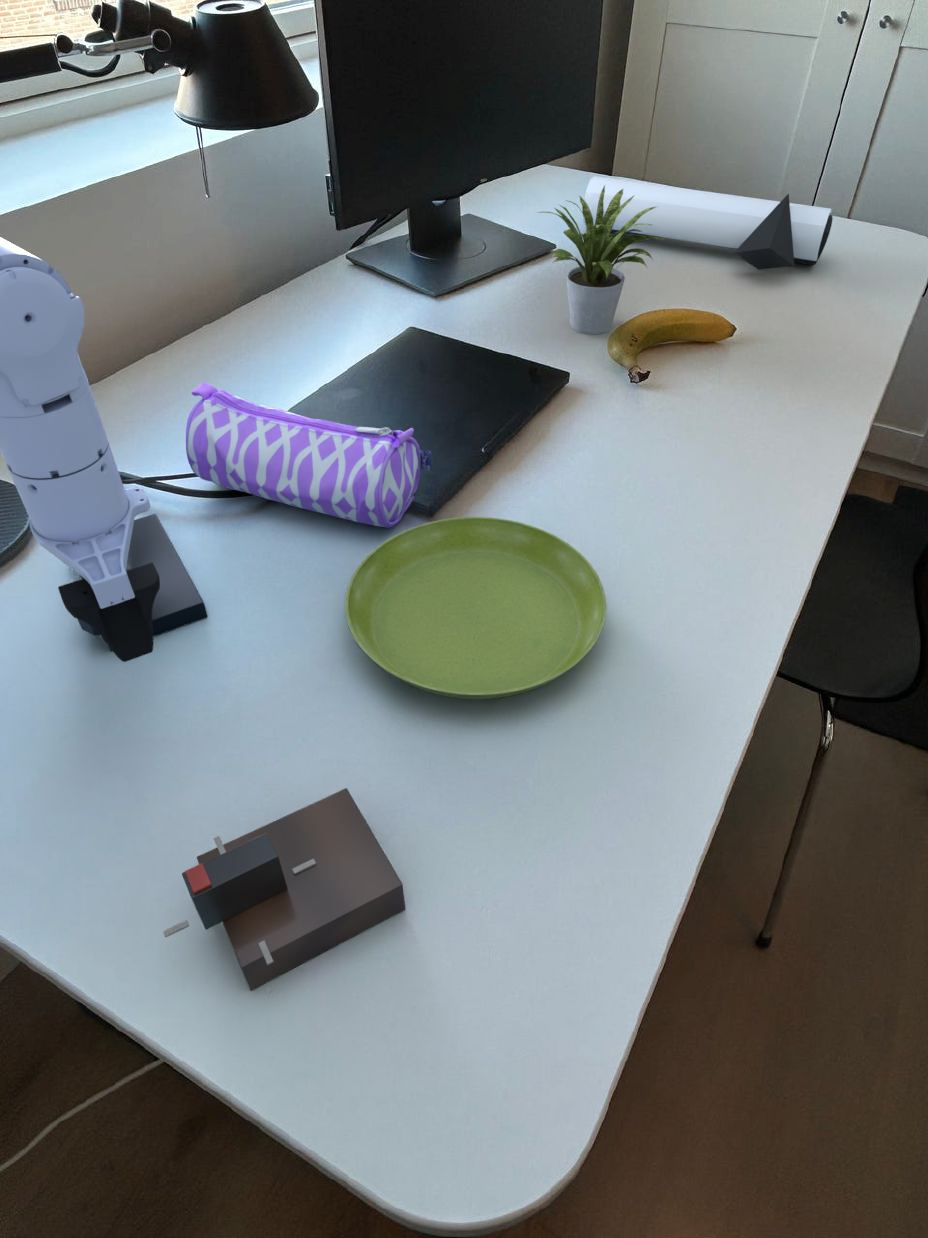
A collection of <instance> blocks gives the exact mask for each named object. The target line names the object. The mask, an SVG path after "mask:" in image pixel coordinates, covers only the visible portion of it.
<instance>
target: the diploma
mask: <svg viewBox="0 0 928 1238" xmlns="http://www.w3.org/2000/svg"><path fill="white" fill-rule="evenodd" d="M604 186H605V193H604V199H603V209H604V213H603V216H604V214H605V212H606V210H607V208H608V206H609V204H610V202H611V200H612V199H613V197H614V196H615V195H616V194H617V193H618V192H619V191H620V190H622V189H623V195H622V197H621V199H620V206H621V205H622V204H623V203H624V202H626V201H627V200H628V199H630V198H631V197H632V196H634V195H635V196H634V197H633V198H632V199H631V201H630V202H629V203H628V204H627V205H626V206H625V207H624V208H623V209H622V211H621V212H620V213H619V215H618V216H617V218H616V220H615V222H614V225H613V227H612V230H611V233H615V232H619V231H620V230H621V228H622V227H623V226H624V225H625V224H626V223H627V222H629V221H630V220H631V219H632V218H633V217H634V216H635V215H637V214H638V213H640V212H641V211H643V210H645V209H648V208H651V207H656V208H654V209H652V210H650V211H648V212H646V213H645V214H643V215H642V216H641V217H640V218H639V219H638V220H637V221H636V222H635V223H634V224H641V223H643V224H651V225H637V226H632V227H630V228H629V229H628V230H627V231H629V230H632V229H637V230H640V231H642V232H637V231H631V232H628V233H626V232H627V231H626V232H625V233H626V234H629V235H645V236H652V237H656V238H660V239H670V240H677V241H684V242H690V243H696V244H701V245H710V246H715V247H721V248H727V249H732V250H735V251H734V252H733V254H735V255H736V256H738V257H739V258H740V259H742V260H743V261H745V262H746V263H748V264H749V265H751V266H752V267H753V268H754V269H757V270H758V271H759V270H769V269H777V268H779V269H781V268H788V267H795V263H798V264H803V265H807V266H812V267H814V266H815V265H816V264H817V262H818V261H819V259H820V257H821V256H822V254H823V251H824V249H825V247H826V244H827V242H828V239H829V236H830V232H831V228H832V224H833V219H834V218H833V214H832V210H833V208H829V207H821V206H816V205H807V204H801V203H800V204H799V203H792V202H790V194H789V192H788V193H787V194H786V195H785V196H784V197H783V199H782V200H781V201H779V200H771V199H763V198H758V197H757V198H756V197H749V196H741V195H735V194H727V193H721V192H713V191H705V190H698V189H691V188H684V187H676V186H669V185H662V184H654V183H649V182H647V183H646V182H641V181H633V180H627V179H626V180H625V179H617V178H612V177H611V178H610V177H605V176H604V177H603V176H596V175H593V176H592V177H591V178H590V180H589V182H588V183H587V187H586V191H585V194H584V198H583V200H584V201H585V202H586V203H587V205H588V207H589V209H590V212H591V214H592V217H593V224H594V225H595V221H596V215H597V208H598V202H599V198H600V194H601V192H602V189H603V187H604ZM582 220H583V224H584V225H585V226H586V223H585V219H584V216H583V215H582ZM634 224H633V225H634ZM625 233H624V234H625ZM626 234H625V235H626Z"/></svg>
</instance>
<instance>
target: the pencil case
mask: <svg viewBox="0 0 928 1238" xmlns="http://www.w3.org/2000/svg"><path fill="white" fill-rule="evenodd" d="M191 395H192V396H194V397H198V396H199V397H201V399H200V400H199V401H198V402H197V403H195V405H194V406H193V407H192V408H191V410H190V412H189V415H188V417H187V421H186V425H185V427H186V428H185V451H186V452H185V453H186V458H187V461H188V464H189V467H190V469H191V470H192V472H193V473H194V475H195V476H196V477H198V478H200V480H201V479H202V480H203V481H205V482H211V483H213V484H215V485H218V486H220V487H222V488H226V489H230V490H234V491H235V490H236V491H239V492H243V493H246V494H249V495H252V496H253V495H254V496H257V497H260V498H264V499H267V500H270V501H273V502H277V503H282V504H284V505H289V506H292V507H296V508H300V509H304V510H307V511H310V512H311V511H312V512H316V513H321V514H324V515H328V516H333V517H336V518H340V519H344V520H348V521H352V522H354V523H359V524H367V525H371V526H374V527H382V528H391V527H394V526H395V525H397V524H399V522H400V521H401V519H402V517H403V516H404V513H405V512H407V510H408V509H409V507H410V506H411V504H412V502H413V500H414V498H415V496H413V497H410V496H411V494H412V493H415V492H416V493H417V490H418V487H419V482H420V478H421V477H420V476H421V470H423V471H427V472H431V471H432V469H433V466H432V464H433V463H432V451H431V450H428V449H427V450H426V449H421V448H420V445H419V443H418V441H417V440H416V438H414V437H413V435H414V432H415V429H414V428H413V427H410V428H409V429H407V430H405V431H403V430H400V429H397V430H391V429H390V427H386V426H385V427H381V428H378V427H377V428H376V427H371V426H369V427H368V426H355V425H351V424H344V423H340V422H335V421H332V420H331V421H330V420H326V419H320V418H310V417H308V416H303V415H301V414H296V413H294V412H290V411H287V410H283V409H280V408H276V407H272V406H266V405H262V404H259V403H255V402H253V401H249V400H247V399H245V398H242V397H240V396H237V395H235V394H232V393H230V392H228V391H226V390H224V389H220V390H218V389H217V388H216V387H215V386H213V385H211V384H210V383H209V382H207V381H204V382H202V383H200V384H198V386H197V387H195V388H194V389H193V390H192V391H191ZM416 493H415V494H416ZM408 499H409V500H408Z"/></svg>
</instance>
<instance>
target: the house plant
mask: <svg viewBox="0 0 928 1238" xmlns="http://www.w3.org/2000/svg"><path fill="white" fill-rule="evenodd" d="M604 193H605V186H604V187H603V189H602V192H601V194H600V198H599V202H598V208H597V215H596V221H595V225H594V224H593V217H592V214H591V212H590V209H589V207H588V205H587V203H586V202H585V201H584V198H583V197H582V196H580V195H579V202H580V205H581V206H582V207H580V206H579V205H578V204H577V203H575V202H573V201H570V200H566V199H565V201H566V202H568V203H571V204H573V205H575V206H576V207H577V208H578V209H579V210H580V211H581V213H582V217H583V216H584V219H585V223H586V225H585V230H586V232H584V233H581V230H580V227H579V225H578V223H577V221H576V220H575V218H574V217H573V216H572V214H571V213H570V211H569V210H568V208H566V206H563V205H561V204H559V206H560V207H561V208H562V209H563V210H565V212H566V213H567V215H568V216H569V217H568V216H567V215H566V214H565V213H564V212H563V211H562V210H560V209H557V208H556V207H554V210H555V211H556V213H555V212H551V211H537V213H545V214H553V215H555V216H558V217H559V218H560V219H561V220H562V221H563V222H564V223H565V224H566V225H567V227H568V229H565V230H564V231H563V232H562V233H563V234H564V235H565V237H567V238H568V239H569V240H570V241H571V242H572V243H573V244H574V245H575V247H576V248H577V250H578V252H579V254H580V256H581V259H582V261H583V263H584V265H583V264H582V263H581V261H580V260H579V259H578V258H577V257H575V256H574V255H573V254H572V253H571V252H569V251H568V250H566V249H563V248H557V249H555V250H554V251H553V253H552V255H551V256H550V257H549V259H552V258H555V259H554V260H553V261H552V263H555V262H556V263H557V262H561V261H575V262H577V265H578V266H576V267H574V268H571V269H569V270H568V271H567V274H566V286H567V299H568V310H569V322H570V327H571V328H572V330H574V331H576V332H578V333H581V334H584V335H601V334H604V333H607V332H609V331H610V330H611V329H612V327H613V322H614V319H615V315H616V311H617V308H618V305H619V302H620V297H621V294H622V290H623V287H624V283H625V279H626V277H625V275H624V273H623V272H622V271H621V270H619V269H617V267H616V268H615V267H614V266H615V265H616V264H618V263H620V264H619V265H618V267H620V266H621V265H622V264H623V263H638V264H639V263H640V264H641V265H644V266H645V267H646V268H648V266H647V265H646V263H645V261H644V259H643V258H642V257H640V256H638V255H645V256H647V257H649V258H650V259H651V260H652V261H654V259H653V257H652V255H651V254H650V252H648V251H647V250H646V249H644V248H639V247H638V248H637V247H636V248H630V249H626V248H627V247H628V246H630V245H632V244H634V243H637V242H641V241H650V240H657V241H666V238H660V237H652V236H645V235H636V234H632V235H628V236H625V235H626V233H628V232H631V231H637V232H642V231H640V230H637V229H632V230H629V231H627V230H628V229H629V228H630V227H632V226H637V225H651V224H643V223H641V224H634V223H635V222H636V221H637V220H638V219H639V218H640V217H641V216H642V215H643V214H645V213H646V212H648V211H650V210H652V209H654V208H656V207H651V208H648V209H645V210H643V211H641V212H640V213H638V214H637V215H635V216H634V217H633V218H632V219H631V220H630V221H629V222H627V223H626V224H625V225H624V226H623V227H622V228H621V230H620V231H619V232H615V233H614V232H611V230H612V227H613V225H614V222H615V220H616V218H617V216H618V215H619V213H620V212H621V211H622V209H623V208H624V207H625V206H626V205H627V204H628V203H629V202H630V201H631V199H632V198H633V197H634V196H635V195H634V196H632V197H631V198H630V199H628V200H627V201H626V202H624V203H623V204H622V205H621V206H620V199H621V197H622V195H623V189H622V190H620V191H619V192H618V193H617V194H616V195H615V196H614V197H613V199H612V200H611V202H610V204H609V206H608V208H607V210H606V212H605V214H604V216H603V213H604V209H603V199H604ZM581 208H582V209H581ZM569 218H570V219H571V220H570V219H569ZM633 224H634V225H633ZM626 231H627V232H626ZM625 232H626V233H625ZM623 236H625V237H623ZM625 249H626V250H625ZM631 253H635V254H633V255H629V256H625V255H626V254H631ZM623 256H624V257H623Z"/></svg>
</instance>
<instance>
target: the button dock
mask: <svg viewBox="0 0 928 1238" xmlns="http://www.w3.org/2000/svg"><path fill="white" fill-rule="evenodd" d="M152 562H153V564H154V566H155V568H156V570H157V572H158V574H159V578H160V589H159V591H158V593H157V595H156V597H155V600H154V604H153V609H152V627H153V638H154V637H156V636H158V635H159V636H160V635H162V634H165V633H167V632H171V631H172V630H173V631H174V630H175V629H178V628H181V627H184V626H186V625H190V624H192V623H196V622H197V621H200V620H203V619H206V618H208V617H209V615H208V612H207V609H206V605H205V602H204V600H203V598H202V596H201V595H200V593H199V591H198V589H197V587H196V585H195V583H194V582H193V580H192V578H191V576H190V574H189V572H188V570H187V568H186V567H185V564H184V563H183V561H182V559H181V558H180V556H179V553H178V552H177V550H176V548H175V546H174V545H173V542H172V541H171V538H170V536H169V535H168V533H167V531H166V530H165V528H164V526H163V524H162V522H161V519H159V516H158V514H157V513H152V514H149V515H146V516H143V517H139V518H136V519H134V524H133V529H132V535H131V541H130V547H129V552H128V558H127V566H126V571H127V570H130V569H134V568H137V567H140V566H143V565H146V564H149V563H152ZM79 577H80V580H81V579H84V578H83V577H82V576H81V575H79ZM77 622H78V624H79V627H80V629H81V630H82V631H83V632H86V633H88V634H91V635H93V636H94V637H95V636H96V637H101V636H100V634H99V633H98V632H97V631H96V630H95V629H93V628H92V627H91V626H90V625H88V624H87V623H85V622H83V621H81V620H79V619H77ZM108 649H109V651H110V652H111V653H113V651H112V650H111V649H110V647H109V646H108Z"/></svg>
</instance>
